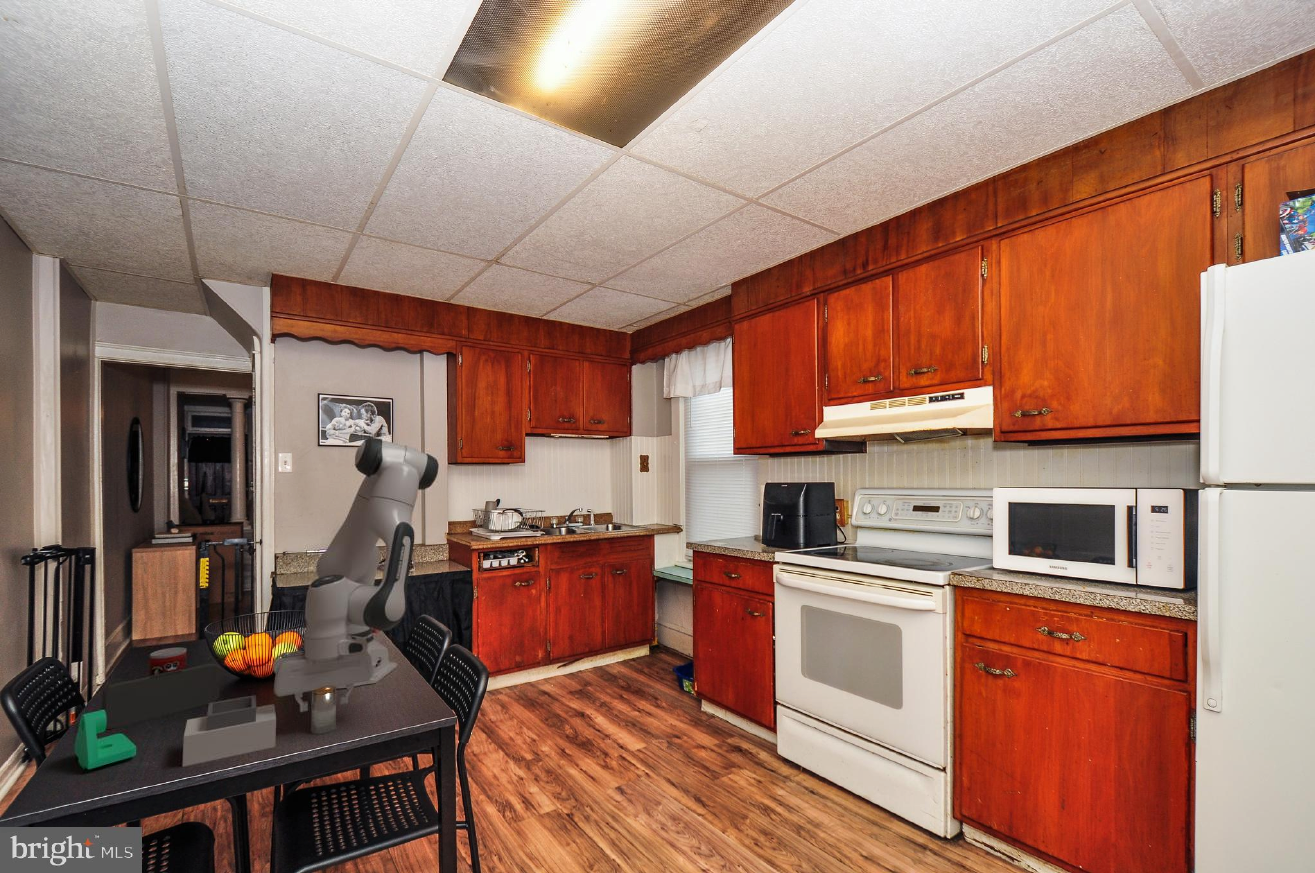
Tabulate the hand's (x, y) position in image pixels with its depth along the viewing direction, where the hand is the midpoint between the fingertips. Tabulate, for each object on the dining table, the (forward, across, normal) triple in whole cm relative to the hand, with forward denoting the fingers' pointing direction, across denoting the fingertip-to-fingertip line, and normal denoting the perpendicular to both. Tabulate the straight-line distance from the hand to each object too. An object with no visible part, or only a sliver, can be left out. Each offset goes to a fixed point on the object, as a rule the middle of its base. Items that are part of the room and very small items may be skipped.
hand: (324, 706), depth 143 cm
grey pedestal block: (+5, -18, +1) cm, 18 cm away
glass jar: (+5, 0, 0) cm, 5 cm away
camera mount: (+6, -39, +9) cm, 41 cm away
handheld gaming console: (+6, -32, +32) cm, 45 cm away
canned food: (+5, -33, +50) cm, 60 cm away
